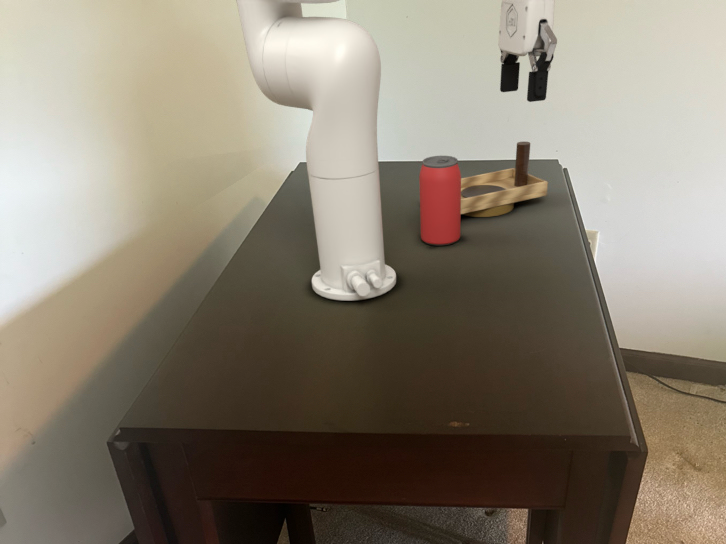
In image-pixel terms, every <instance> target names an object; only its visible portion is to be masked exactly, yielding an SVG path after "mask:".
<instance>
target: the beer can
mask: <svg viewBox="0 0 726 544" xmlns="http://www.w3.org/2000/svg"><path fill="white" fill-rule="evenodd" d="M458 162H459V160H458V158H456V157H455V156H452V155H433V156H428V157H426V158H423V160H422V161H421V164H422V165H421V168H420V171H419V177H418V179H419V180H418V181H419V216H420V217H419V219H420V239H421V241H422V242H423V243H425V244H427V245H429V246H434V247H444V246H445V247H446V246H450V245H452V244H455V243H457V242H458V241H459V239H460V238H461V223H462V222H461V220H462V219H461V217H462V216H461V215H462V214H461V178H462V174H461V169H460V167H459V164H458Z"/></svg>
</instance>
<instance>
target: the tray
mask: <svg viewBox="0 0 726 544" xmlns="http://www.w3.org/2000/svg"><path fill="white" fill-rule="evenodd" d="M530 153H531V142H530V141H518V142H517V143H516V150H515V154H516V155H515V167H511V168H506V169H501V170H496V171H491V172H486V173H481V174H477V175H472V176H466V177H461V215H462V214H464V213H469V212H474V211H478V210H483V209H487V208H492V207H496V206H501V205H505V204H510V203H514V204H515V203H519V202H523V201H528V200H532V199H536V198H537V199H538V198H541V197H546V196H547V195H548V186H549V182H548V181H547V180H545V179H542V178H539V177H538V176H535V175H532V174H530V173H529V167H530V155H531V154H530Z"/></svg>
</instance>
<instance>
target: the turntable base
mask: <svg viewBox="0 0 726 544" xmlns="http://www.w3.org/2000/svg"><path fill="white" fill-rule="evenodd" d="M514 208H515V202H514V203H510V204H505V205H501V206H496V207H492V208H487V209H483V210H478V211H474V212H469V213H464V214H461V215H462V216H466V217H473V218H490V217H498V216H502V215H505V214H508V213H511V211H512V210H513V209H514Z"/></svg>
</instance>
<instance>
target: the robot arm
mask: <svg viewBox="0 0 726 544" xmlns="http://www.w3.org/2000/svg"><path fill="white" fill-rule="evenodd" d="M235 1H236V7H237V11H238V16H239V21H240V26H241V31H242V35H243V41H244V44H245V49H246V54H247V58H248V63H249V66H250V70H251V73H252V76H253V78H254V81H255V83H256V85H257V87H258V89H259V90H260V92H261V93H262V94H263V95H264V97H266V99H268V100H269V101H271V102H273V103H275V104H277V105H280V106H284V107H289V108H295V109H296V108H297V109H303V110H309V111H311V112H312V118H311V123H310V126H309V130H308V133H307V138H306V143H305V161H306V169H307V177H308V182H309V184H308V185H309V192H310V199H311V208H312V214H313V222H314V230H315V238H316V245H317V251H318V252H317V253H318V260H319V261H318V262H319V266H320V267H319V270H318V271H316V272H315V273H314V274H313V275H312V276H311V288H312V291H314V293H316V294H317V295H318V296H320V297H322V298H325V299H329V300H332V301H333V300H334V301H341V302H342V301H343V302H346V301H347V302H350V301H351V302H352V301H354V302H355V301H363V300H369V299H373V298H376V297H379V296H382V295H384V294H386V293H387V292H390V291H391V290H392V289H393V288H394V287H395V285H396V284H397V274H396V271H395V270H394V269H393V268H392V267H391V266H390V265H387V264H386V262H385V245H384V231H383V213H382V199H381V182H380V181H381V180H380V166H379V165H380V164H379V153H378V151H379V150H378V148H379V147H378V110H379V109H378V108H379V99H380V88H381V80H382V63H381V56H380V55H381V54H380V52H379V48H378V46H377V44H376V43H377V42H376V41H375V39H374V37H373V36H372V34H370V33H369V31H368V30H367V29H366V28H365V27H363V26H362V25H360V24H359V23H357V22H354V21H352V20H349V19H346V18H340V17H330V16H329V17H327V16H304V15H303V10H302V9H303V8H302V4H312V5H313V4H315V5H316V4H331V3H336V2H339V1H340V0H235ZM555 1H556V0H501V7H500V8H501V9H500V15H499V27H498V49H499V50H500V54H501V55H500V60H499V61H500V65H501V66H500V84H499V87H500V88H499V91H500V92H501V93H509V92H517V91H518V90H519V84H520V83H519V82H520V67H521V62H519V61H518V60H519V58H520V57H526V56H527V55H528V60H529V64H530V70H531V71H528V80H527V94H526V101H527V102H529V103H533V102H541V101H545V100H546V99H547V91H548V82H549V81H548V79H549V71H550V70H551V67H552V65H551V63H552V62H553V60H554V58H555V57H554V53H555V51H556V48H557V44H558V38H557V37H556V35H555V34H554V21H555V20H554V19H555V3H556V2H555Z"/></svg>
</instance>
